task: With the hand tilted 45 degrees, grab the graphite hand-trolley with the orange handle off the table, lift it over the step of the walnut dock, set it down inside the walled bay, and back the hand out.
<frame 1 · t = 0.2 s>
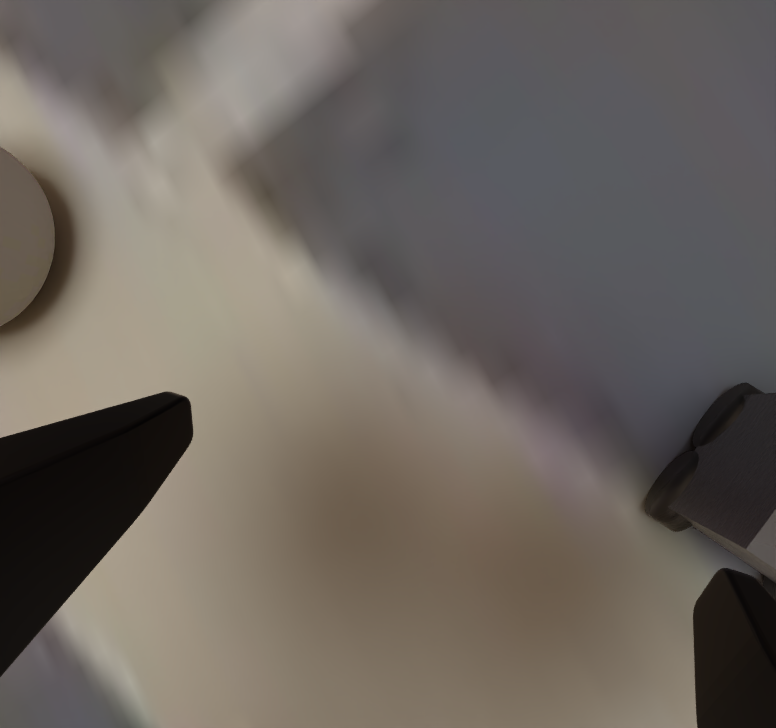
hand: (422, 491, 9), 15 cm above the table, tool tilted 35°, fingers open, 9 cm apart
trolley: (749, 491, 21), on the table
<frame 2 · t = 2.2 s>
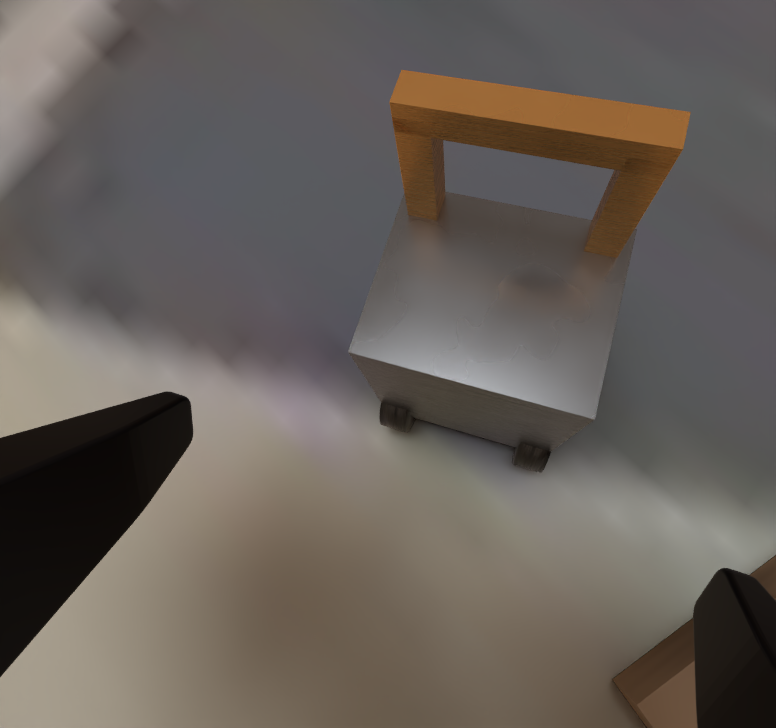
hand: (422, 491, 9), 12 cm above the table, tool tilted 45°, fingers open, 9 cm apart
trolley: (479, 379, 21), on the table
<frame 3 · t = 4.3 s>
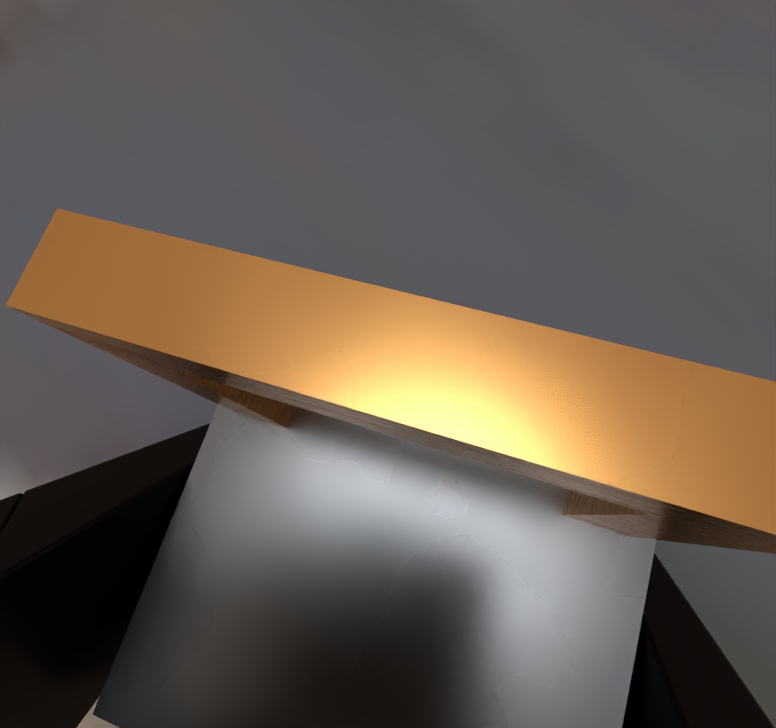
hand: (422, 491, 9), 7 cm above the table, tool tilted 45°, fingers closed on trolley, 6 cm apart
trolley: (423, 550, 14), on the table, touching gripper
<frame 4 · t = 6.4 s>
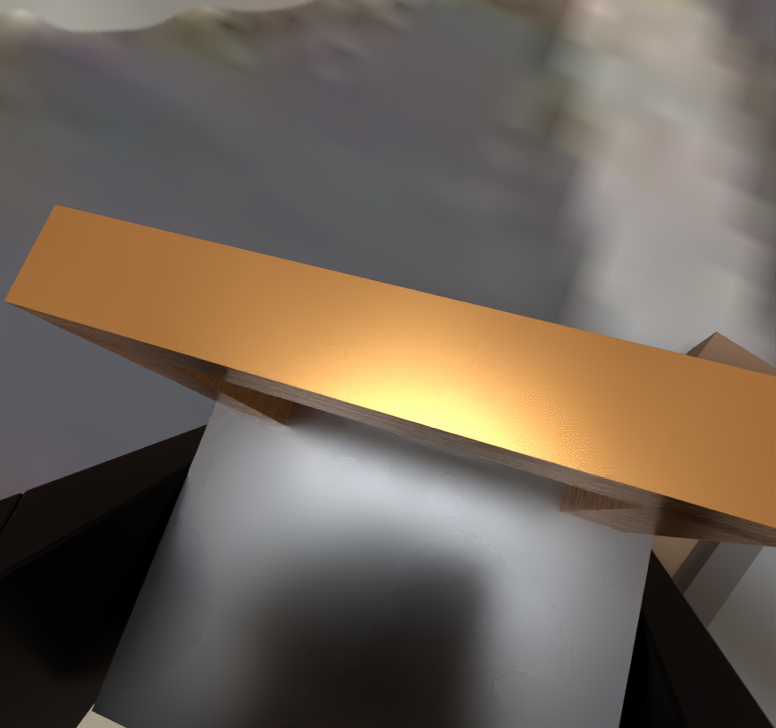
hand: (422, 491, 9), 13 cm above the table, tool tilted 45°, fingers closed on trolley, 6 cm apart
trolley: (423, 548, 14), point 7 cm above the table, touching gripper
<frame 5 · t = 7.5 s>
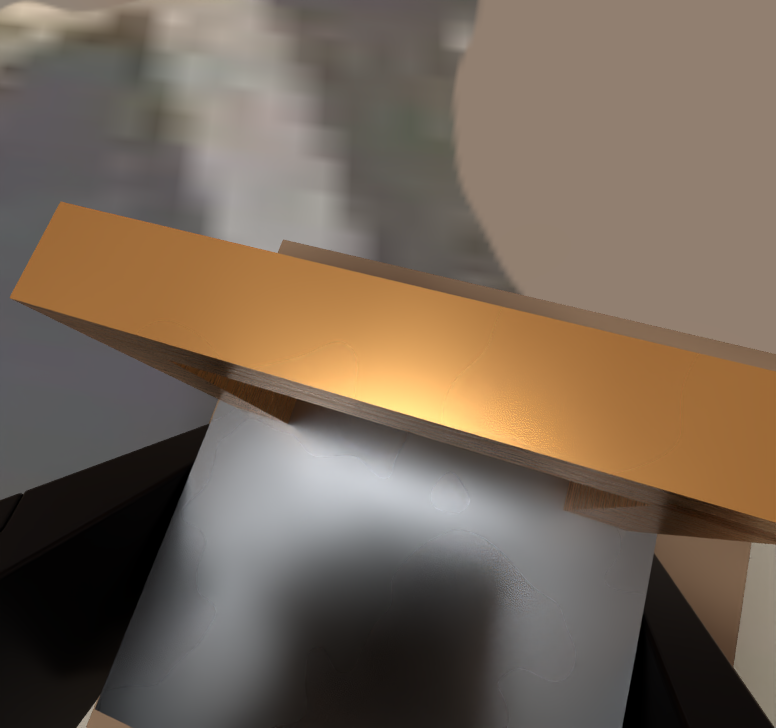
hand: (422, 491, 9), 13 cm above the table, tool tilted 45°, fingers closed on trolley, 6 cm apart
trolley: (424, 548, 14), point 7 cm above the table, touching gripper
dock: (438, 536, 21), on the table
when the fingers open (11 cm above the table, at t = 8.5 s): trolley drops 1 cm, resting on dock.
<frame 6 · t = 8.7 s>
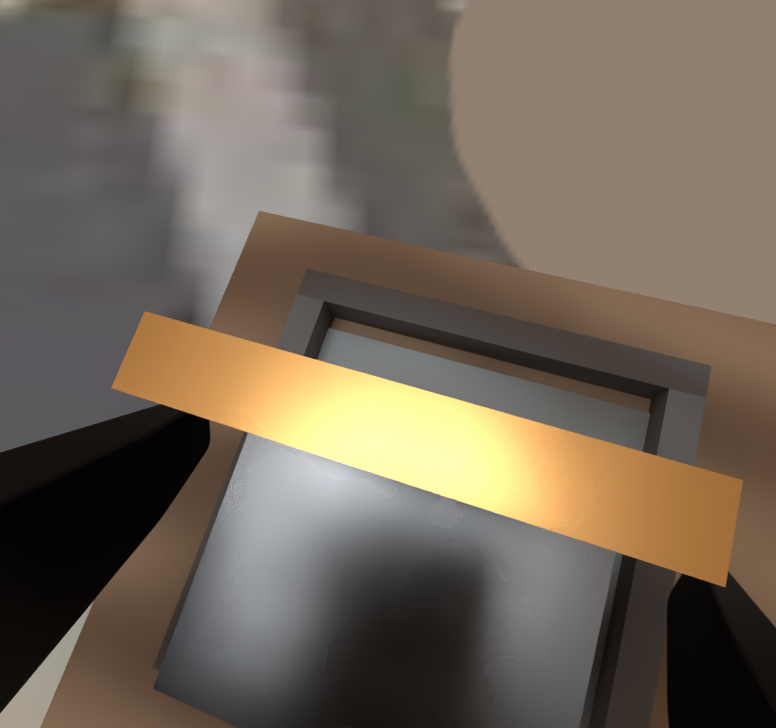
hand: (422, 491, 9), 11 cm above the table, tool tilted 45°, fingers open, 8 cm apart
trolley: (426, 544, 16), point 3 cm above the table, touching dock
dock: (432, 542, 18), on the table
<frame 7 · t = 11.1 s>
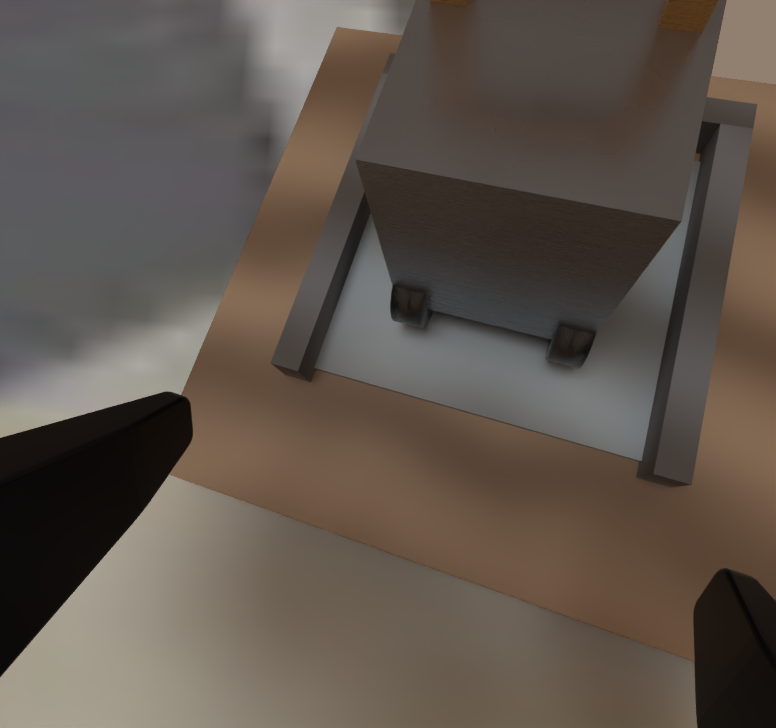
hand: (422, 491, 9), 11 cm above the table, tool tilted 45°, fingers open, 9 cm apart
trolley: (504, 274, 18), point 3 cm above the table, touching dock
dock: (499, 306, 21), on the table
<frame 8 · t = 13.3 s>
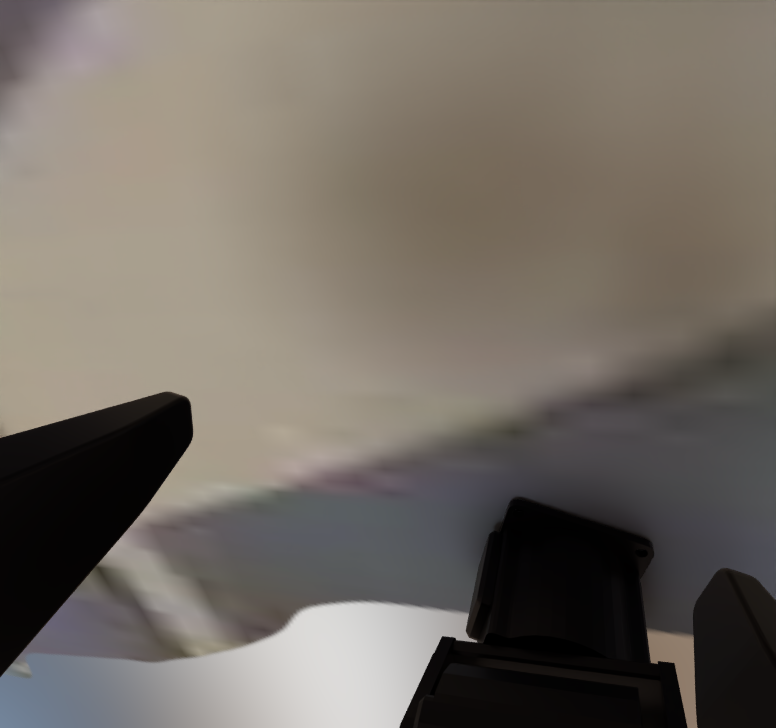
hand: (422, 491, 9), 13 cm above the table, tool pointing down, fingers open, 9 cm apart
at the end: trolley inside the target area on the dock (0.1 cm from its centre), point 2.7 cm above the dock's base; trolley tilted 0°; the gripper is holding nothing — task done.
